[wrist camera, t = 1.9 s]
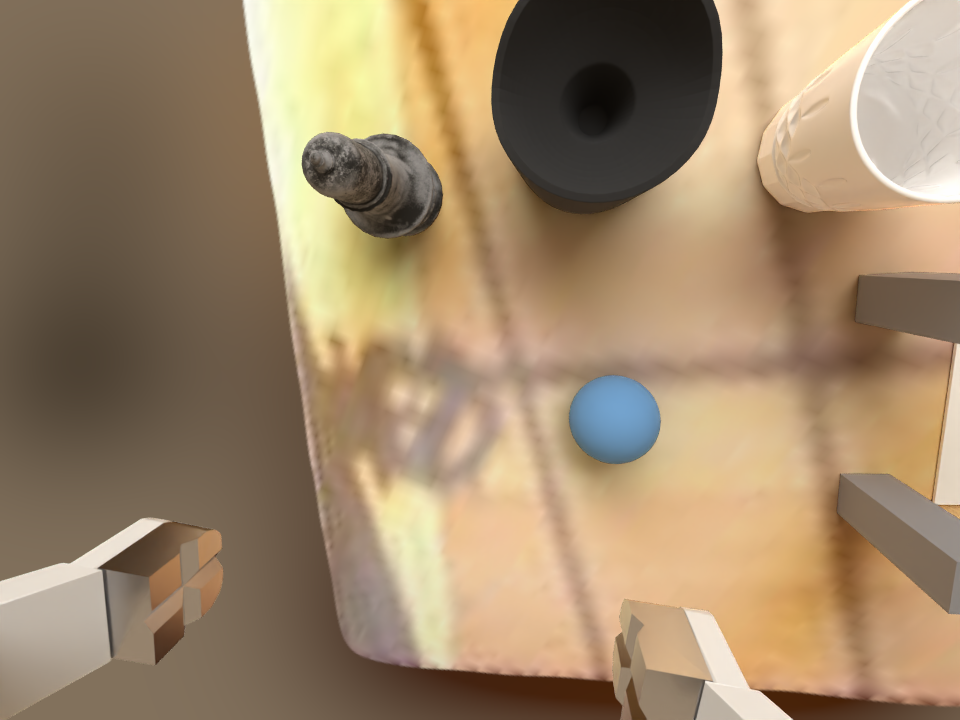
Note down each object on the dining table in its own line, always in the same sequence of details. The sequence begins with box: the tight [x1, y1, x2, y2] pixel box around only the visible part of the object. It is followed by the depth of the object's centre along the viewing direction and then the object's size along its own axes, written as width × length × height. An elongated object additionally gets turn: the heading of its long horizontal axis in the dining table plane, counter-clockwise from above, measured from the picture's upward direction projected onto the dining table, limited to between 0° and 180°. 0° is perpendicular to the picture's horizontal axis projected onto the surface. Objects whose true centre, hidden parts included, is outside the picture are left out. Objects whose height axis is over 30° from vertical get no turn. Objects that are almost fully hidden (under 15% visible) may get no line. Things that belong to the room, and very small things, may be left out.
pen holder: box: [491, 0, 722, 214], centre depth 23 cm, size 9×9×10 cm
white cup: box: [757, 0, 960, 213], centre depth 21 cm, size 8×8×10 cm
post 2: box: [837, 474, 960, 614], centre depth 26 cm, size 3×3×9 cm
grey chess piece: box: [302, 132, 443, 238], centre depth 25 cm, size 6×6×12 cm
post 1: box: [855, 272, 960, 344], centre depth 23 cm, size 3×3×9 cm
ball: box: [569, 375, 661, 464], centre depth 29 cm, size 6×6×6 cm
